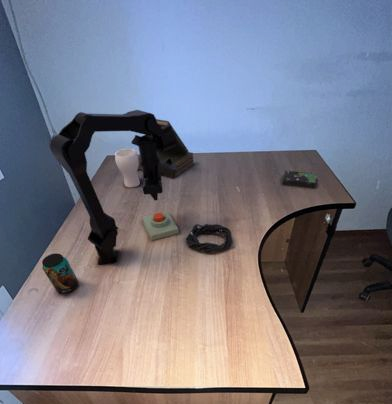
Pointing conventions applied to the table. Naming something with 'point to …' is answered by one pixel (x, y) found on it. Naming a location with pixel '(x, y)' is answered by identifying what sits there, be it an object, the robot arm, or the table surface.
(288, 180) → the disk drive
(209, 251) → the cable
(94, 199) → the robot arm
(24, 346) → the table surface
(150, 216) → the green stepped base
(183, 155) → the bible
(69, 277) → the beverage can
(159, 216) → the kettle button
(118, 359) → the table surface
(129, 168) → the white vase
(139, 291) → the table surface
